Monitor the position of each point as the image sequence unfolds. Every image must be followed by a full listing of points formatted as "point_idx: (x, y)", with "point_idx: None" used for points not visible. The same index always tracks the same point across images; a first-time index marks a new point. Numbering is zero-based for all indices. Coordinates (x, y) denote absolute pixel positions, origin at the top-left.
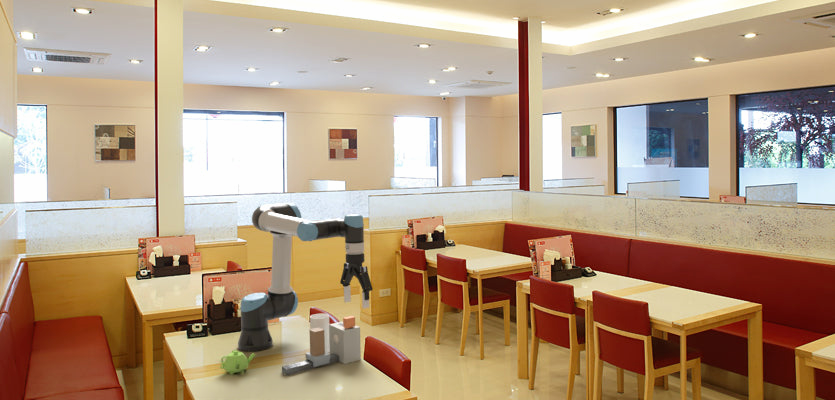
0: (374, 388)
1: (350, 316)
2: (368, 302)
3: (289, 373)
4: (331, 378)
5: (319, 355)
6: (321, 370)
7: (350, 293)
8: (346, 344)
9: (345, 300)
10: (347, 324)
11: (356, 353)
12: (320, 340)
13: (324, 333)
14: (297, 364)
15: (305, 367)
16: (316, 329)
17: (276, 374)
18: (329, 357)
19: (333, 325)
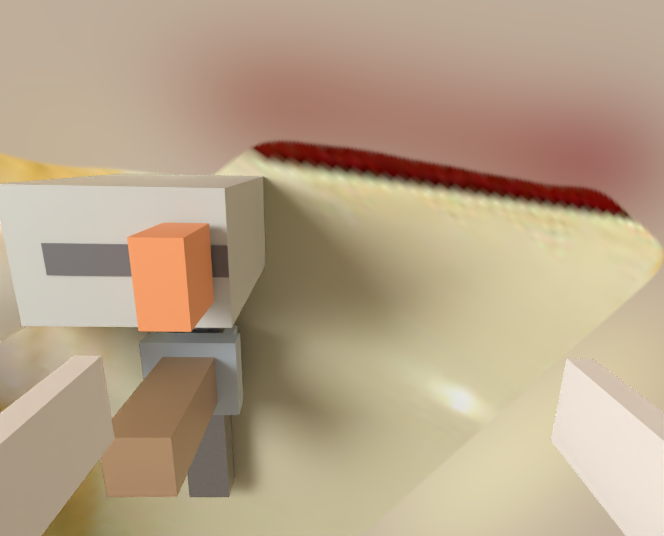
0: (563, 314)
1: (138, 259)
2: (650, 415)
3: (232, 471)
4: (367, 379)
5: (220, 385)
6: (269, 368)
7: (4, 441)
8: (250, 278)
9: (97, 455)
10: (205, 300)
11: (258, 203)
12: (194, 421)
13: (15, 297)
14: (205, 448)
15: (227, 419)
16: (131, 467)
17: None
18: (238, 339)
19: (66, 314)
